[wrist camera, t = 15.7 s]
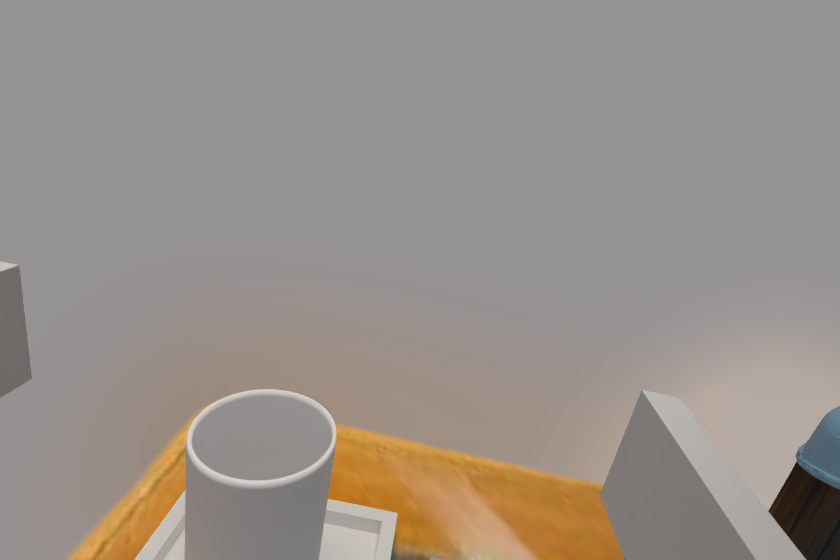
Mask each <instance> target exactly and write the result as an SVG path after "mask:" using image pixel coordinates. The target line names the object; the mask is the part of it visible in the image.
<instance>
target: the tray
mask: <svg viewBox="0 0 840 560" xmlns="http://www.w3.org/2000/svg"><path fill="white" fill-rule="evenodd" d="M396 520H397V513H395V512H390V511H385V510H380V509H375V508H370V507H366V506H361V505H356V504H351V503H346V502H341V501H336V500H331V499H328V501H327V507H326V514H325V521H324V528H323V535H322V541H321V548H320V555H319V560H390V559H391V553H392V546H393V539H394V533H395V526H396ZM184 556H185V491H184V492H183V494H182V495H181V496H180V498H179V499H178V500H177V502H176V503H175V505H174V506H173V507H172V509H171V510H170V511H169V513H168V514H167V516H166V517H165V518H164V520H163V521H162V522H161V524H160V525H159V526H158V528H157V529H156V531H155V532H154V533H153V535H152V536H151V537H150V539H149V540H148V542H147V543H146V544H145V546H144V547H143V548H142V550H141V551H140V553H139V554H138V555H137V557H136V558H135V559H134V560H184Z"/></svg>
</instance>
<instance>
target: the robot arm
mask: <svg viewBox="0 0 840 560" xmlns="http://www.w3.org/2000/svg"><path fill="white" fill-rule="evenodd" d="M30 379H32V376H31V368H30V358H29V349H28V340H27V332H26V323H25V314H24V305H23V296H22V288H21V278H20V269H19V265H15V264H10V263H5V262H0V398H1V397H2V396H4V395H6V394H8V393H9V392H11V391H12V390H14V389H16V388H17V387H19V386H21V385H22V384H24V383H25V382H27V381H29V380H30ZM796 458H797V462H796V464H795V466H794V467H793V469H792V471H791V473H790V475H789V477H788V478H787V480H786V482H785V483H784V485H783V487H782V489H781V490H780V492H779V494H778V495H777V497H776V499H775V500H774V502H773V504H772V506H771V507H770V509H769V511H768V510H767V509H766V508H765V507H764V505H763V504H762V503H761V502H760V500H759V499H758V498H757V496H756V495H755V494H754V493H753V491H752V490H751V489H750V488H749V486H748V485H747V484H746V482H745V481H744V480H743V479H742V477H741V476H740V475H739V474H738V472H737V471H736V470H735V468H734V467H733V466H732V465H731V463H730V462H729V461H728V460H727V458H726V457H725V456H724V454H723V453H722V452H721V451H720V449H719V448H718V447H717V446H716V444H715V443H714V442H713V440H712V439H711V438H710V437H709V435H708V434H707V433H706V432H705V430H704V429H703V428H702V426H701V425H700V424H699V423H698V421H697V420H696V419H695V418H694V416H693V415H692V414H691V412H690V411H689V410H688V409H687V407H686V406H685V405H684V404H683V402H682V401H681V400H680V399H679V398H678V397H674V396H669V395H664V394H659V393H654V392H649V391H644V390H642V391H641V393H640V396H639V398H638V401H637V403H636V406H635V409H634V411H633V414H632V416H631V419H630V421H629V423H628V426H627V428H626V431H625V434H624V436H623V438H622V441H621V443H620V446H619V448H618V451H617V453H616V456H615V458H614V461H613V463H612V466H611V469H610V471H609V474H608V476H607V479H606V481H605V484H604V486H603V489H602V491H601V494H600V495H601V497H602V500H603V503H604V505H605V508H606V511H607V513H608V516H609V519H610V521H611V524H612V526H613V529H614V532H615V534H616V537H617V540H618V542H619V545H620V548H621V550H622V553H623V556H624V558H625V560H840V406H839V407H837V408H835V409H833V410H831V411H830V412H829V413H828V414H826V416H824V418H823V419H822V420H821V422H820V423H819V425H818V426H817V428H816V430H815V431H814V432H813V434H812V435H811V437H810V439H809V440H808V441H807V443H805V444H803V445H802V446H801V447H800V448H799V449H798V451H797V454H796Z"/></svg>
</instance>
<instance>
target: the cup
mask: <svg viewBox="0 0 840 560" xmlns="http://www.w3.org/2000/svg"><path fill="white" fill-rule="evenodd" d="M335 446H336V426H335V422H334V420H333V418H332V416H331V415H330V413H329V412H328V411H327V410H326V409H325V408H324V407H323V406H321V405H320V404H319V403H317V402H316V401H314V400H312V399H310V398H308V397H306V396H303V395H301V394H297V393H294V392H290V391H284V390H274V389H262V390H251V391H245V392H240V393H236V394H233V395H230V396H227V397H225V398H222V399H220V400H218V401H216V402H214V403H213V404H211V405H209V406H208V407H207V408H205V409H204V410H203V411H202V412H201V413H200V414H199V415H198V416H197V417H196V418H195V419H194V421H193V422H192V424H191V426H190V428H189V432H188V436H187V443H186V489H185V556H184V560H319V555H320V548H321V541H322V535H323V528H324V521H325V514H326V507H327V501H328V494H329V487H330V480H331V473H332V467H333V460H334V453H335Z"/></svg>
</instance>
